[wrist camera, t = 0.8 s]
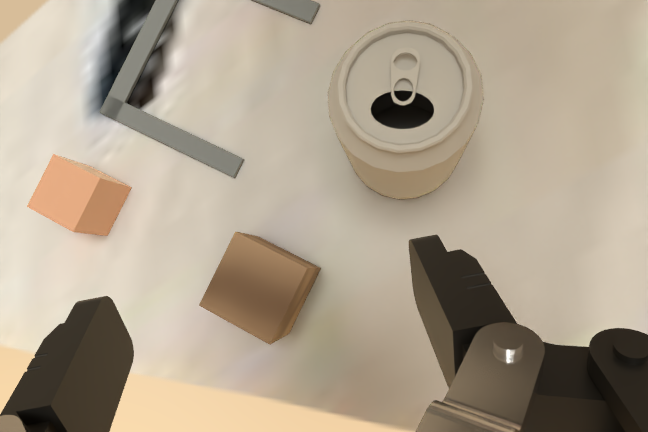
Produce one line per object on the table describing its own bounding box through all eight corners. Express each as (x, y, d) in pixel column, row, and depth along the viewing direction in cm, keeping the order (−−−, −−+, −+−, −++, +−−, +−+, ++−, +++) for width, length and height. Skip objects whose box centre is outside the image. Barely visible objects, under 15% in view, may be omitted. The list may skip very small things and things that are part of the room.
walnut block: (258, 236, 35) (235, 231, 30) (321, 268, 34) (307, 267, 30) (227, 300, 35) (198, 305, 30) (289, 333, 34) (269, 344, 29)
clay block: (89, 165, 38) (53, 154, 34) (132, 187, 37) (100, 178, 33) (66, 212, 38) (26, 206, 34) (108, 235, 37) (73, 231, 33)
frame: (182, -49, 39) (181, -51, 38) (320, 5, 36) (319, 3, 36) (101, 113, 38) (99, 112, 38) (235, 178, 36) (233, 177, 36)
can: (345, 197, 35) (314, 160, 23) (354, 92, 35) (329, 3, 23) (456, 204, 33) (484, 169, 22) (463, 96, 34) (495, 4, 22)
